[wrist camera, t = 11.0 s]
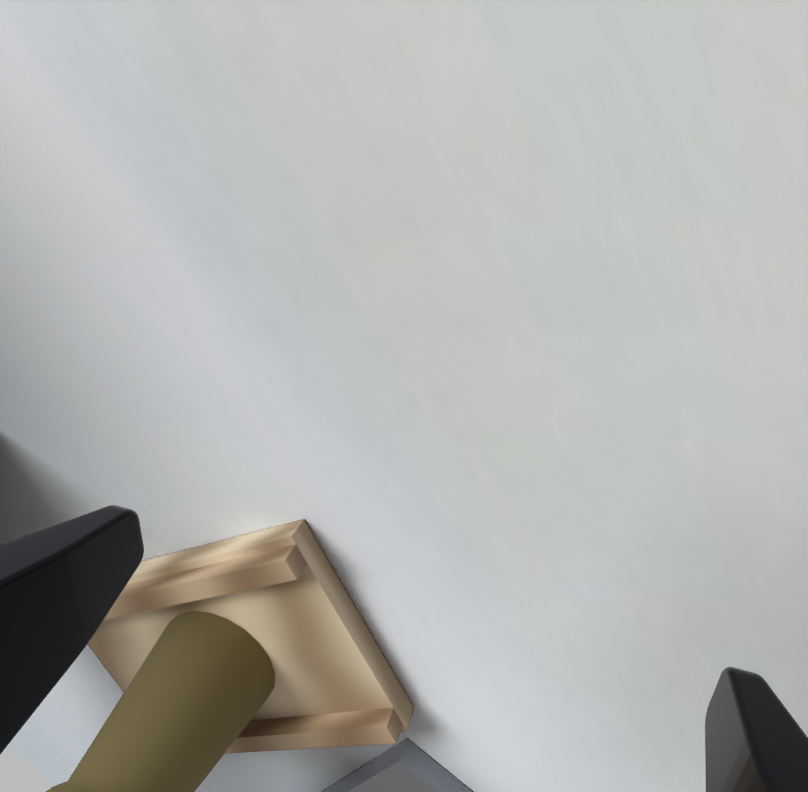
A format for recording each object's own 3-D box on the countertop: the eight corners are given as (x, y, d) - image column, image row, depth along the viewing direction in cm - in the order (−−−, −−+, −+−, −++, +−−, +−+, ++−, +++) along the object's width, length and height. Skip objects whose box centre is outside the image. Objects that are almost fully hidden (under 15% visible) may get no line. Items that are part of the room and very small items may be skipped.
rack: (303, 519, 27) (280, 551, 25) (414, 707, 30) (400, 749, 28) (68, 580, 34) (35, 609, 32) (177, 728, 37) (153, 763, 35)
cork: (220, 715, 33) (58, 967, 24) (143, 630, 32) (-59, 860, 23) (299, 689, 30) (150, 965, 21) (217, 595, 29) (20, 841, 20)
